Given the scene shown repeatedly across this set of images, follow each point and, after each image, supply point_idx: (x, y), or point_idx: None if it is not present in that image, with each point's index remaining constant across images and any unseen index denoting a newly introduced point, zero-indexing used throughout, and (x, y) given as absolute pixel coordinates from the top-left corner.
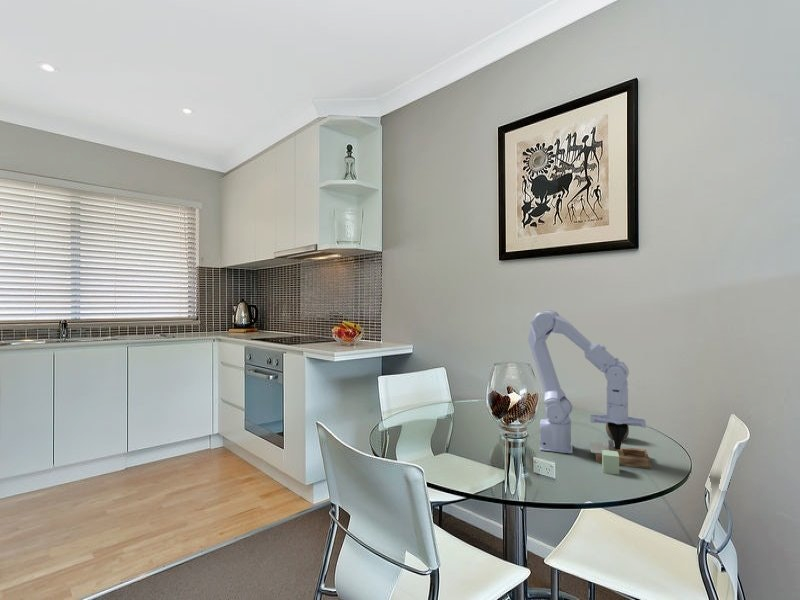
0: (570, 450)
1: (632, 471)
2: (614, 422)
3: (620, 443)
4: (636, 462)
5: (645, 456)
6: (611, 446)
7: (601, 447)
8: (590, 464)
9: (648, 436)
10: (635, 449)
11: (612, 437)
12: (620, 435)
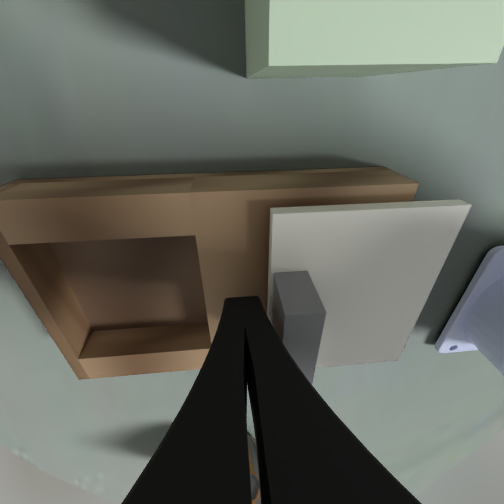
0: (493, 273)
1: (128, 56)
2: None
3: (220, 336)
4: (100, 187)
5: (70, 314)
6: (299, 294)
7: (352, 302)
8: (441, 101)
9: (129, 481)
10: (134, 364)
11: (249, 443)
12: (218, 431)
